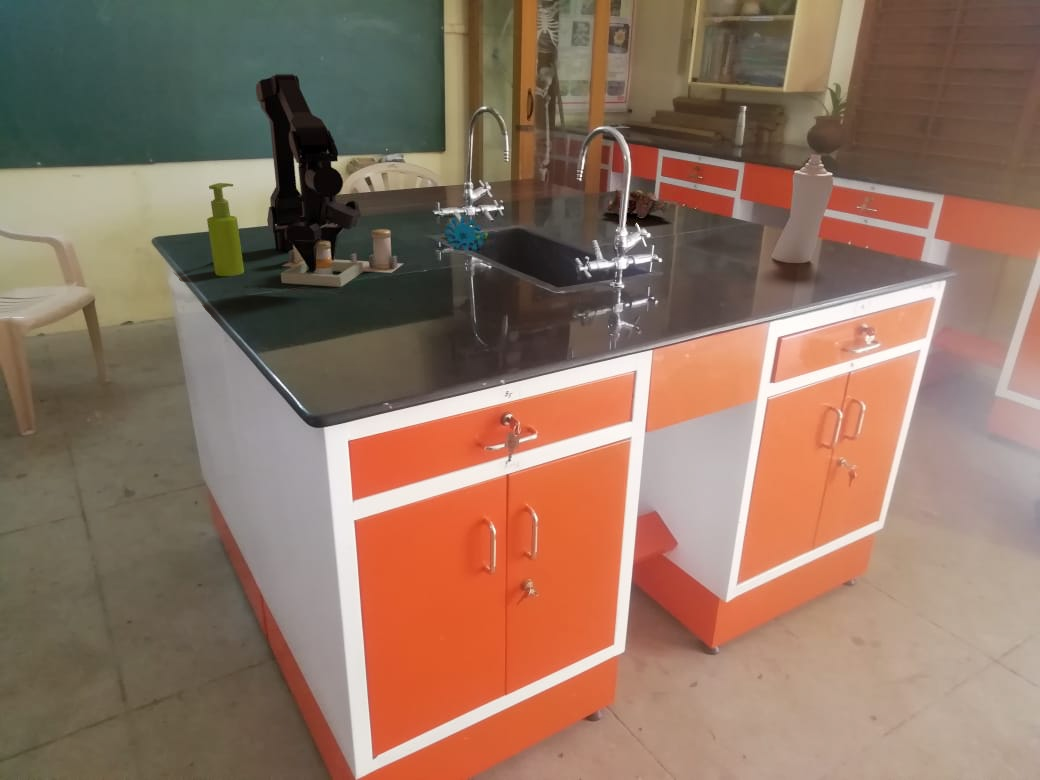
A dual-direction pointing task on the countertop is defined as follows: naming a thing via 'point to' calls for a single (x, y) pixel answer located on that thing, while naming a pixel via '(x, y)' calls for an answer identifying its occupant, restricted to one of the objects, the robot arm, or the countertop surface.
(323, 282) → the tray
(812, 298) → the countertop surface
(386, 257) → the fuse right
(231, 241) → the soap dispenser
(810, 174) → the curved beige bottle
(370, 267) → the fuse holder
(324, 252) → the fuse marked
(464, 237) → the gear
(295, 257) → the fuse left
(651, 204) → the mineral formation
